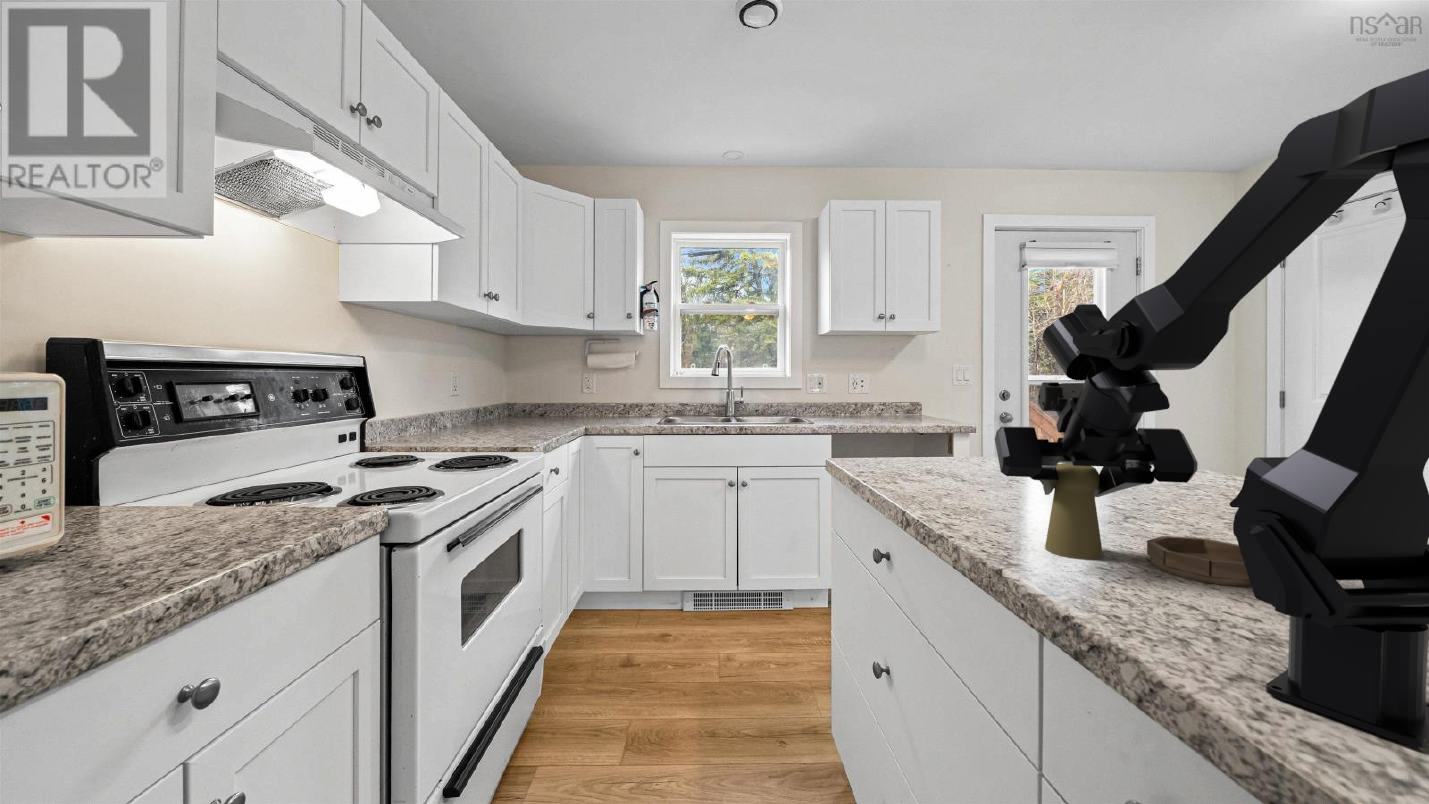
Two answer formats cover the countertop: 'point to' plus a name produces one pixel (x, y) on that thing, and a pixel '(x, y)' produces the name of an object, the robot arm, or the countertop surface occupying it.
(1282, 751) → the countertop surface
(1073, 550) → the cork
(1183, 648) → the countertop surface
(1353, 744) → the countertop surface
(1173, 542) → the walnut coaster
